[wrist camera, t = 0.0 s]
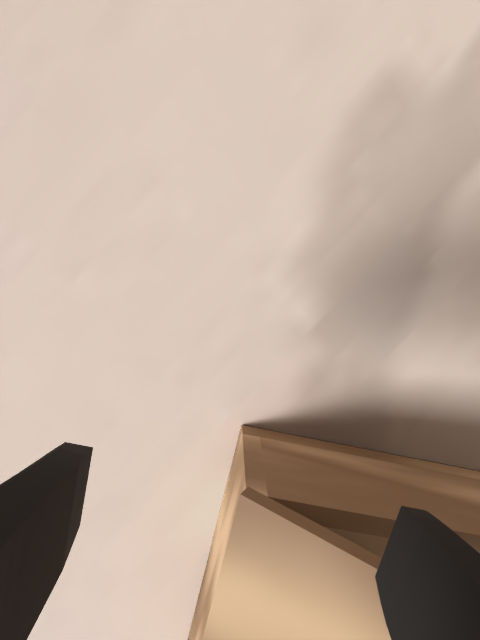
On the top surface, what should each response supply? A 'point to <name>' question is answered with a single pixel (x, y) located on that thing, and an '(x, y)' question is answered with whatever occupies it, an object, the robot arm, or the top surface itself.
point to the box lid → (292, 580)
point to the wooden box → (339, 494)
